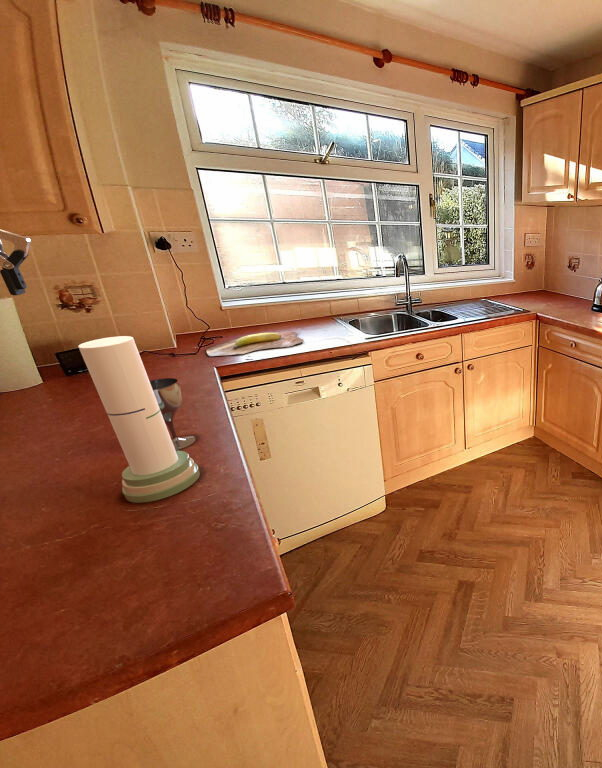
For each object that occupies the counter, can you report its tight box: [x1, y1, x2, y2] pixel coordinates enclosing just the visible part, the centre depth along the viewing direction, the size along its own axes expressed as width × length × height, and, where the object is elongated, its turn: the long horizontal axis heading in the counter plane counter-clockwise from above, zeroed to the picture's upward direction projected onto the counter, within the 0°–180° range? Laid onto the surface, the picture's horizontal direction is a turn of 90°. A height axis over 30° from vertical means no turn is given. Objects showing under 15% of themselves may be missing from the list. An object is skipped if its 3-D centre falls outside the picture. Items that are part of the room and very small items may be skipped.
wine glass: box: [149, 377, 197, 451], centre depth 96 cm, size 8×8×15 cm
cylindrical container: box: [77, 335, 178, 475], centre depth 78 cm, size 7×7×25 cm
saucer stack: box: [121, 450, 201, 504], centre depth 83 cm, size 12×12×4 cm
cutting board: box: [205, 331, 305, 357], centre depth 174 cm, size 35×27×4 cm
